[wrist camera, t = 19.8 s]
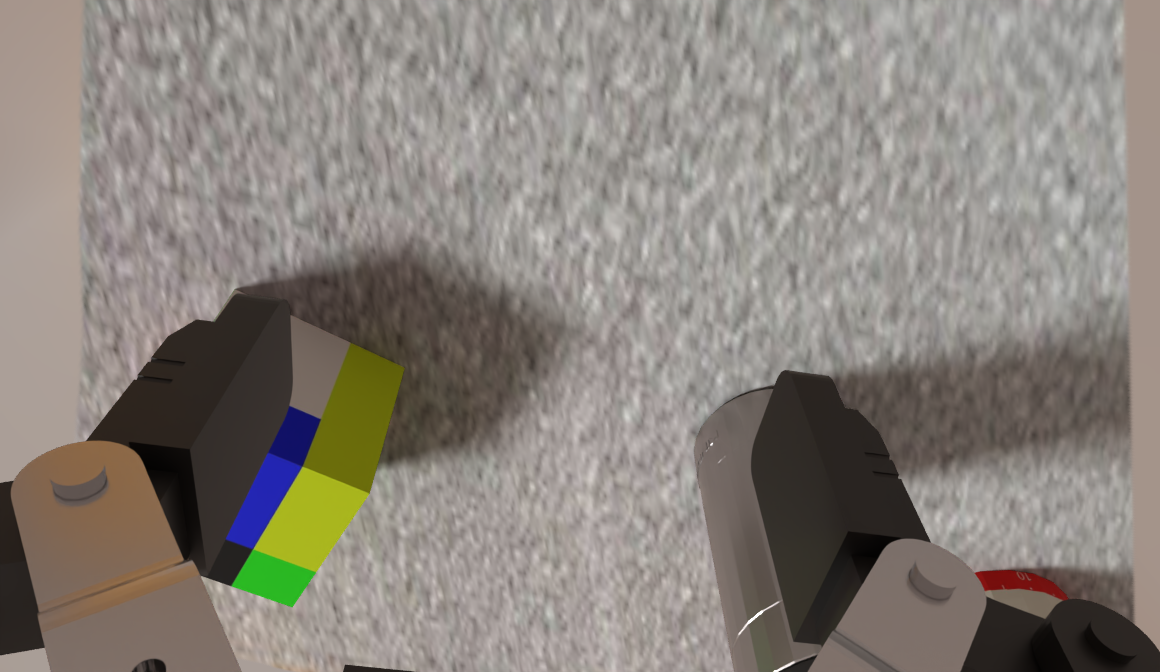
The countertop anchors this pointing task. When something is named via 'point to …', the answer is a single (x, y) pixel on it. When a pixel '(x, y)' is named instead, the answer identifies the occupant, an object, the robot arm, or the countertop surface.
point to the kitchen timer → (1022, 590)
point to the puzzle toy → (311, 466)
